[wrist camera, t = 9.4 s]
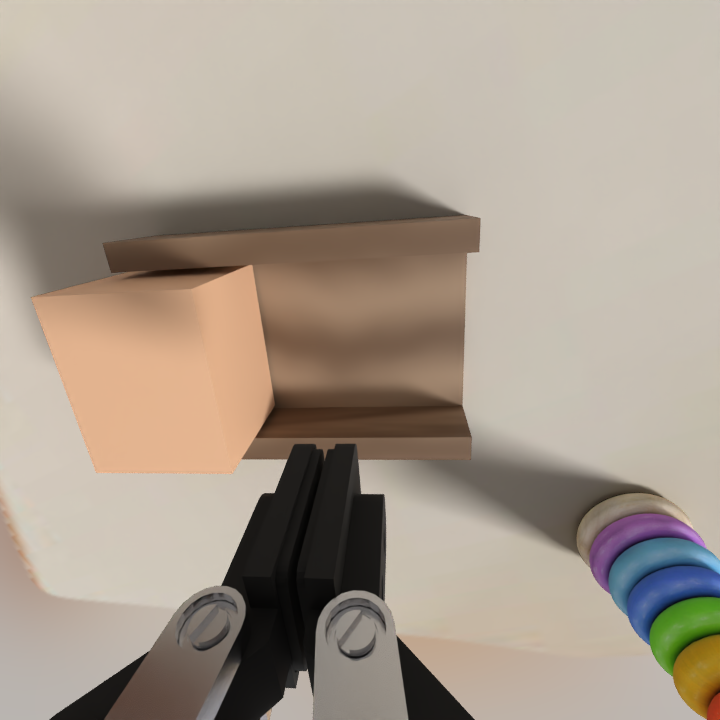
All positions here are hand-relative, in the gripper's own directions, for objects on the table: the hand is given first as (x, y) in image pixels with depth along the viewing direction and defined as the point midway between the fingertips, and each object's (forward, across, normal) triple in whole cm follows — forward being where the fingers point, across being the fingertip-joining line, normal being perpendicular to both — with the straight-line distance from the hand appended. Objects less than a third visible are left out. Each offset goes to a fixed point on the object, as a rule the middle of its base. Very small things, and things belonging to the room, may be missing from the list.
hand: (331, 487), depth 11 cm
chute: (+17, +4, +2) cm, 18 cm away
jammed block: (+16, +11, +2) cm, 20 cm away
